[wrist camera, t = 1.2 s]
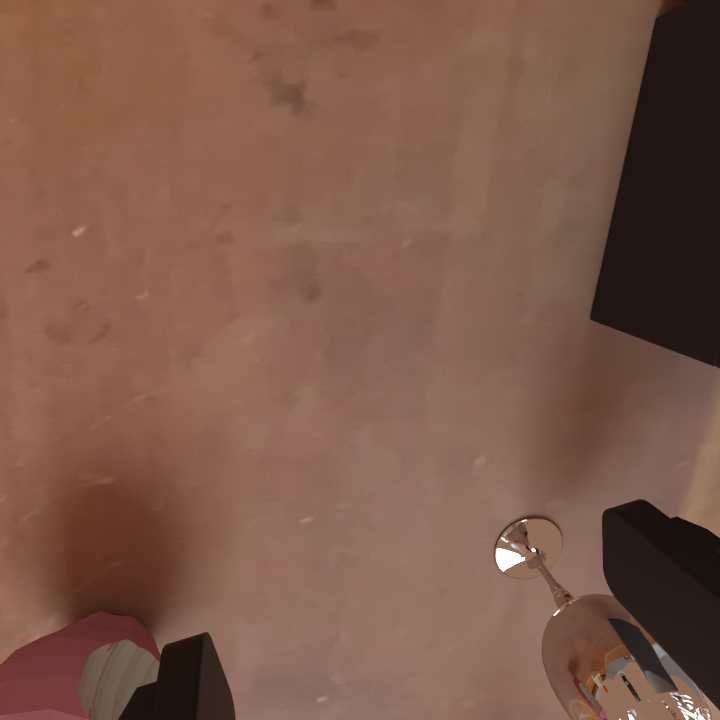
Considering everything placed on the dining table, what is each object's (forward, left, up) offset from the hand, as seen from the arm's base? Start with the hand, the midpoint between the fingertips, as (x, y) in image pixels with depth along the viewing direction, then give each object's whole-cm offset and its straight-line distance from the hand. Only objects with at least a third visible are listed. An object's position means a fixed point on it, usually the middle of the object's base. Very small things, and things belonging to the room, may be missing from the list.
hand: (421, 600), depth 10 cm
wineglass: (+12, +13, -18) cm, 25 cm away
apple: (+18, -12, -18) cm, 28 cm away
